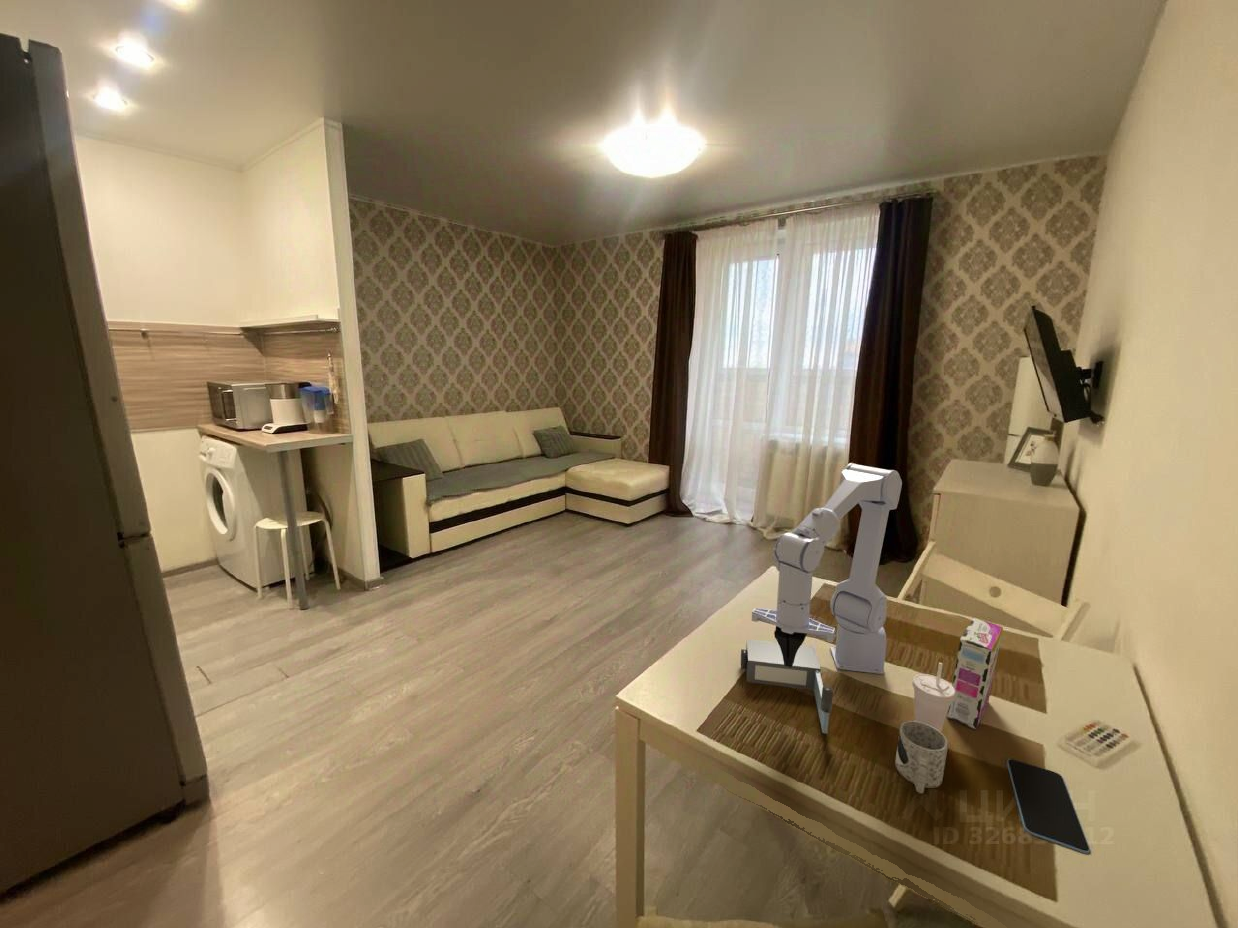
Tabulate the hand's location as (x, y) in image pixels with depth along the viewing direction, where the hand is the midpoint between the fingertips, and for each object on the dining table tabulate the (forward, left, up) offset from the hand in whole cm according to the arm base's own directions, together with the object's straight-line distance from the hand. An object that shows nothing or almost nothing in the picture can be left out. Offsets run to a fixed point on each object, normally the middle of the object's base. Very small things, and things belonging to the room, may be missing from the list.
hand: (789, 663), depth 94 cm
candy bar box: (-34, -6, -10) cm, 36 cm away
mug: (-19, +13, -10) cm, 25 cm away
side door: (-6, 0, -9) cm, 11 cm away
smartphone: (-36, +14, -10) cm, 40 cm away
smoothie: (-24, +2, -10) cm, 26 cm away
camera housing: (0, -10, -9) cm, 14 cm away
